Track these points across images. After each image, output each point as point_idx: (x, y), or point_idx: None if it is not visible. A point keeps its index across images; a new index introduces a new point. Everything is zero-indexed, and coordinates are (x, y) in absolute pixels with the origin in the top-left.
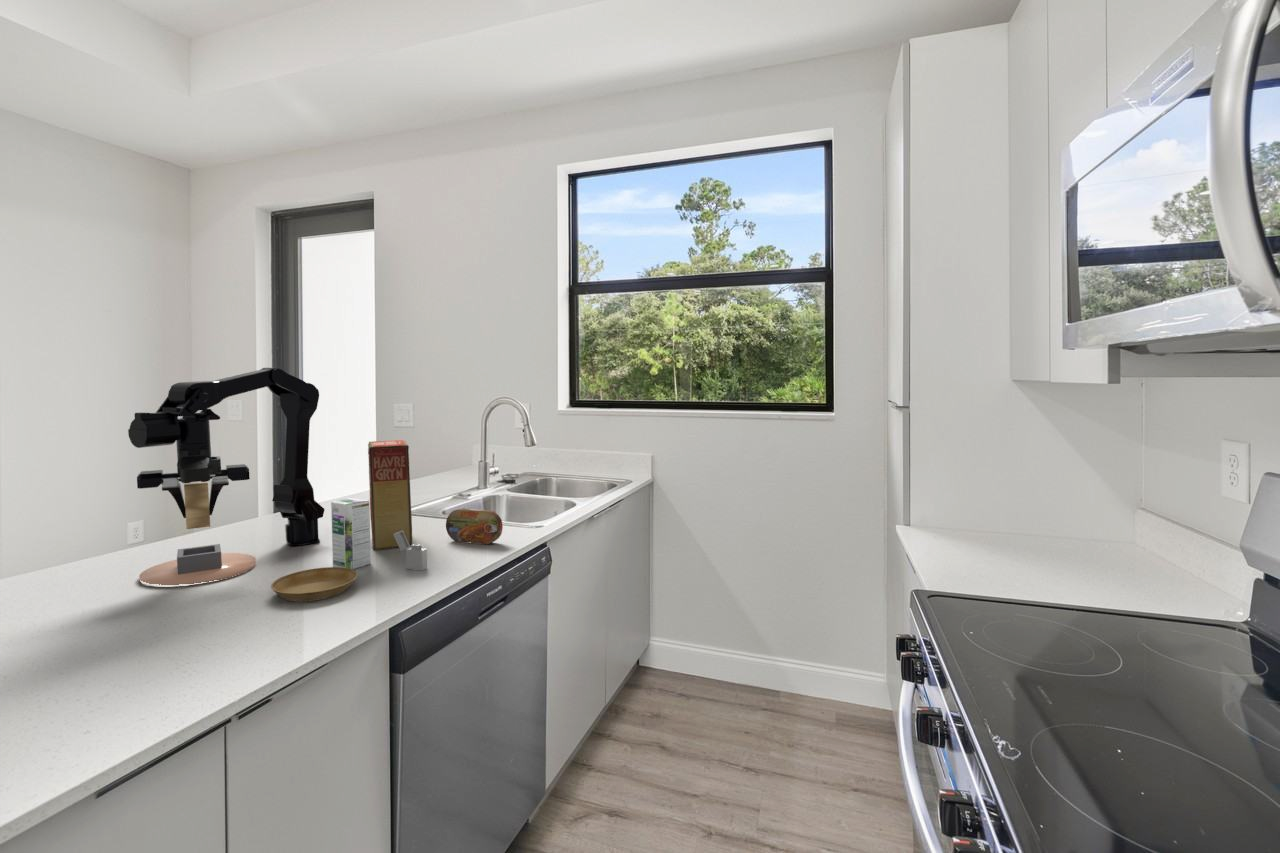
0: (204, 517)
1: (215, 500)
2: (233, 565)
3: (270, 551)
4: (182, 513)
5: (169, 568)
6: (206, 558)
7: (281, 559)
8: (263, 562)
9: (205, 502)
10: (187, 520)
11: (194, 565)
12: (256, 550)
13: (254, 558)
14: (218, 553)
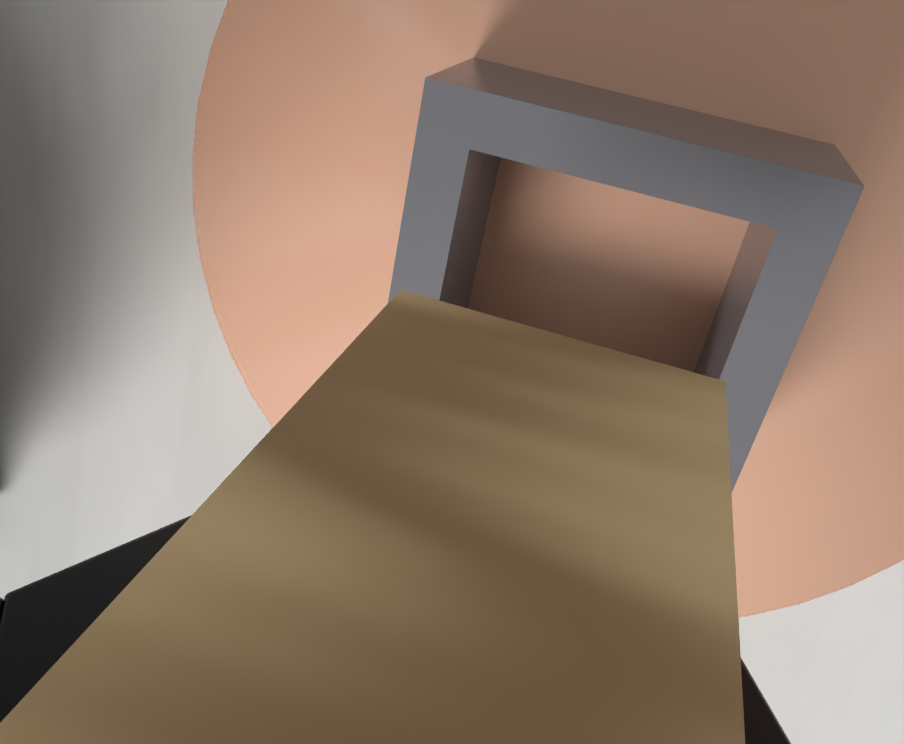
0: (422, 382)
1: (24, 595)
2: (376, 69)
3: (95, 399)
4: (745, 673)
5: (796, 422)
6: (576, 103)
7: (42, 100)
8: (164, 123)
9: (245, 567)
10: (707, 452)
11: (692, 122)
12: (170, 498)
13: (200, 171)
14: (454, 82)
